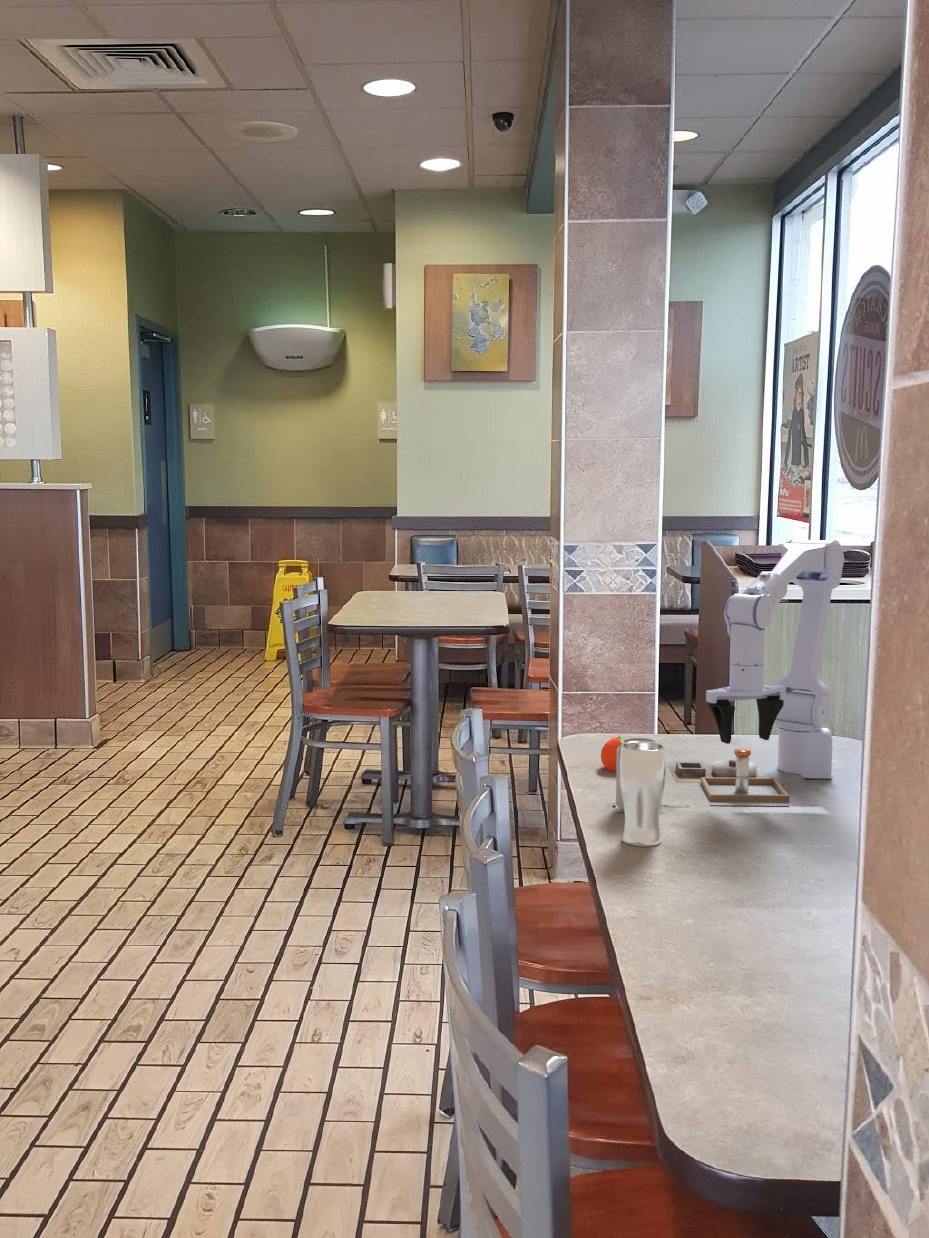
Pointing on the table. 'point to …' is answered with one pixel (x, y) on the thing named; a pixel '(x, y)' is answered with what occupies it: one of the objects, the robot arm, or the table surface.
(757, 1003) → the table surface
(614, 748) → the clementine
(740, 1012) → the table surface
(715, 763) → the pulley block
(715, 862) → the table surface
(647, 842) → the beer glass
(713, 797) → the tray
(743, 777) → the lock pin
